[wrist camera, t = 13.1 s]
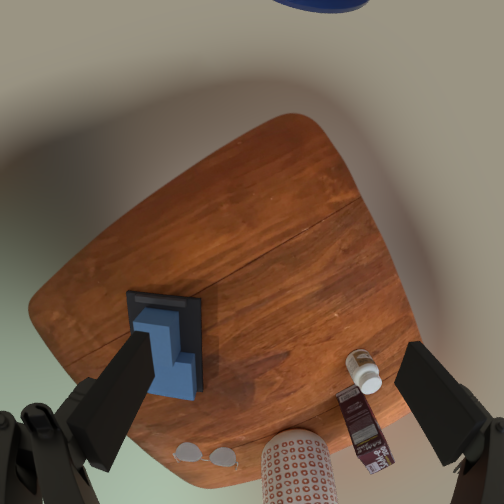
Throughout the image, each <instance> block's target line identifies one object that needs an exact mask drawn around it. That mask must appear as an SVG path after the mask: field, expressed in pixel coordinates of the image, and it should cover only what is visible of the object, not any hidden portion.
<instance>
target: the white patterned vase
mask: <svg viewBox="0 0 504 504" xmlns="http://www.w3.org/2000/svg"><path fill="white" fill-rule="evenodd" d="M261 471H262V491H263V504H338V500H337V492H336V486H335V480H334V475H333V470H332V464H331V460H330V454H329V450H328V447H327V445H326V443H325V442H324V440H323V439H322V438H321V437H320V436H318V435H317V434H315V433H313V432H311V431H309V430H306V429H301V428H294V429H288V430H284V431H282V432H280V433H278V434H277V435H275V436H274V437H273V438H272V439H271V440H270V441H269V442H268V443H267V444H266V446H265V447H264V449H263V452H262V457H261Z"/></svg>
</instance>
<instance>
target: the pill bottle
mask: <svg viewBox="0 0 504 504" xmlns="http://www.w3.org/2000/svg"><path fill="white" fill-rule="evenodd" d="M346 366H347V369H348V371H349V373H350V375H351V377H352V379H353V382H354V383H355V385H357V386H359V388H360V390H361V391H362V393H364V394H372V393H374V392H376V391H377V390H378V389H379V388H380V387H381V384H382V380H381V378H380V377H379V369H378V367H377V366H376V364H375V362H374V361H373V359H372V358H371V356H370V355H369V353H368V352H367V351H366V350H363V349H358V350H355V351H353V352H352V353H350V354H349V355H348V357H347V359H346Z"/></svg>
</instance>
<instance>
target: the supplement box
mask: <svg viewBox="0 0 504 504" xmlns="http://www.w3.org/2000/svg"><path fill="white" fill-rule="evenodd" d="M336 397H337V399H338V402H339V405H340V408H341V411H342V414H343V417H344V420H345V422H346V425H347V428H348V431H349V434H350V437H351V440H352V443H353V446H354V449H355V452H356V455H357V457H358V458H359V459H360V460H361V461H362V463H363V464H364V465H365V467H366V468H367V470H368V471H369V472H370V474H374V473H376V472H378V471H380V470H382V469H384V468H386V467H388V466H390V465H392V464H393V463H395V460H394V458H393V456H392V453H391V451H390V449H389V446H388V444H387V442H386V439H385V437H384V435H383V433H382V431H381V428H380V426H379V424H378V422H377V420H376V418H375V416H374V414H373V412H372V410H371V408H370V406H369V404H368V402H367V400H366V398H365V396H364V394H363V393H362V391H361V390H360V388H359V386H357V385H355V384H354V385H352V386H351V387H349V388H347V389H345V390H343V391H341V392H339V393H337V394H336Z"/></svg>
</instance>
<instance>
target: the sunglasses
mask: <svg viewBox="0 0 504 504" xmlns="http://www.w3.org/2000/svg"><path fill="white" fill-rule="evenodd" d="M173 455H174V457H175V455H176V457H177V458H178V459H180V460H183V461H190V462H194V461H198V460H199V459H201V457H202V456H203V455H202V452H201V451H200V450H199V448H198V447H197V446H196V445H195V444H193V443H189V442H186V443H182V444H180V445H179V446H178V448H177V450H176V454H175V453H173ZM176 457H175V458H176ZM209 457H210V461H211V462H212V463H213V464H215V465H219V466H227V467H229V466H233V465H234V464H235V463H237V466H238V462H236V456H235V453H234V451H233V450H232V449H230V448H227V447H221V448H218V449H216V450H215V451H213V453H211V454H210V456H209ZM176 460H177V459H176ZM202 460H203V459H202ZM204 461H209V460H204ZM177 462H178V461H177ZM178 463H179V462H178ZM235 469H236V470H237V468H236V467H235Z"/></svg>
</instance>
